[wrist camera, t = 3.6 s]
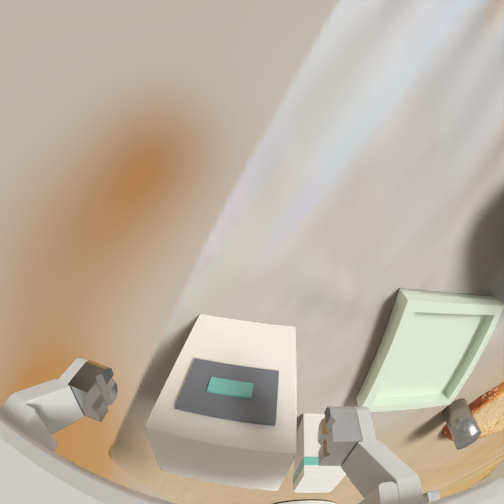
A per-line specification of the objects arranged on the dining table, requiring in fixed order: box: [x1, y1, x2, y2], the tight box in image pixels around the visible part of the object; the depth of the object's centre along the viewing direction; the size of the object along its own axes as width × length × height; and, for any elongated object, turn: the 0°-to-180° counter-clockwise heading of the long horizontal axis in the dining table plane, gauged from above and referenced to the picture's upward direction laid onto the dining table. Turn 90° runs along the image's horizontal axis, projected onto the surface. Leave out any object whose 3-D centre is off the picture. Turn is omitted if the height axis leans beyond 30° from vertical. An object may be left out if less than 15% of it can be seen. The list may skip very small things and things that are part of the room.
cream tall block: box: [144, 314, 297, 491], centre depth 18 cm, size 7×8×12 cm
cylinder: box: [443, 399, 481, 449], centre depth 22 cm, size 4×4×6 cm
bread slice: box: [443, 382, 504, 441], centre depth 24 cm, size 18×18×4 cm
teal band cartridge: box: [293, 413, 346, 493], centre depth 24 cm, size 5×4×8 cm
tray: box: [356, 288, 504, 412], centre depth 21 cm, size 13×12×2 cm
